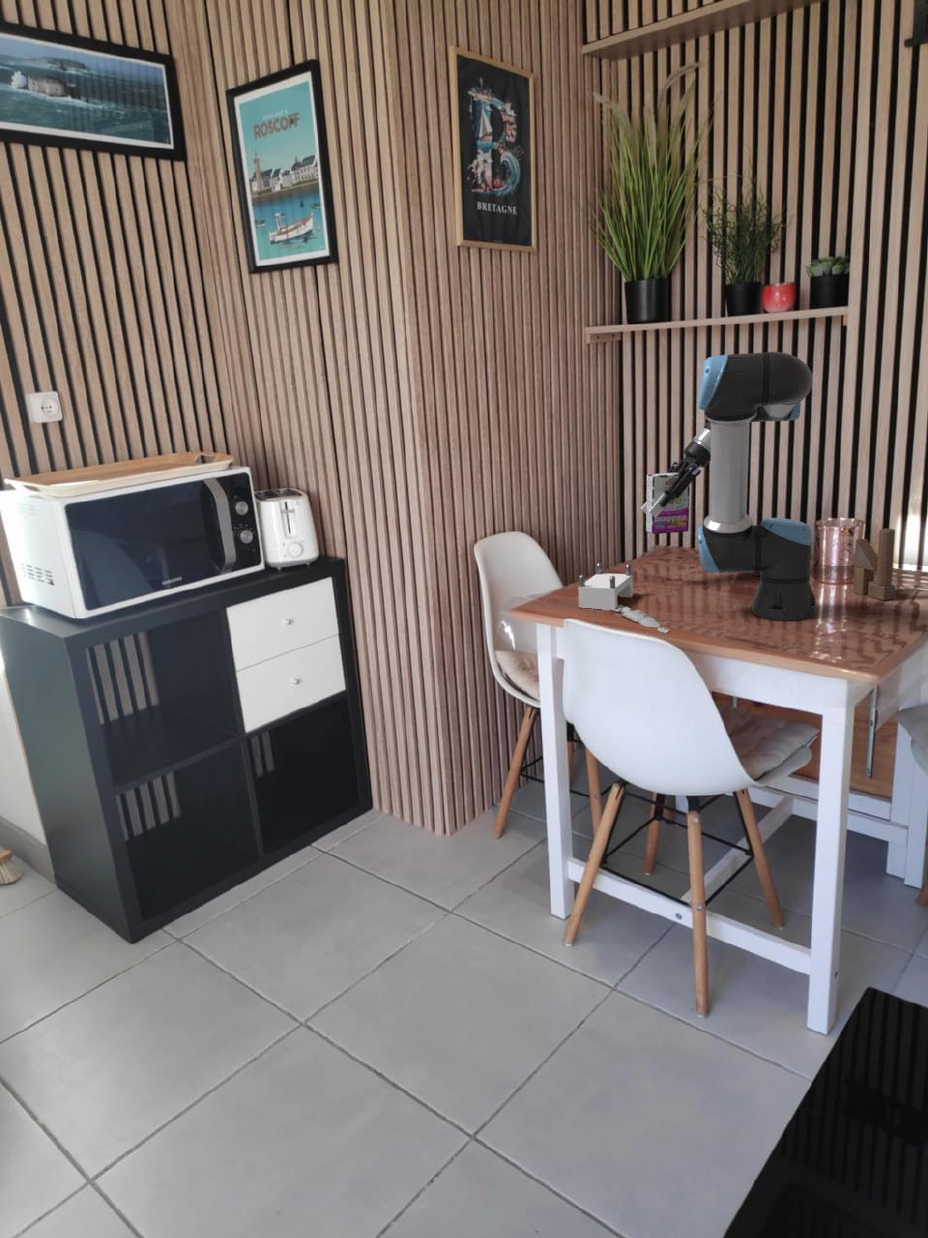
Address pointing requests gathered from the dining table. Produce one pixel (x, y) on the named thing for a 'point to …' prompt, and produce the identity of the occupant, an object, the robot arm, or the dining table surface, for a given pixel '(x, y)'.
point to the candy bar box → (673, 513)
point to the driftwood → (639, 617)
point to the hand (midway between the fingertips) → (648, 513)
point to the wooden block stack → (875, 567)
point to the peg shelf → (604, 589)
